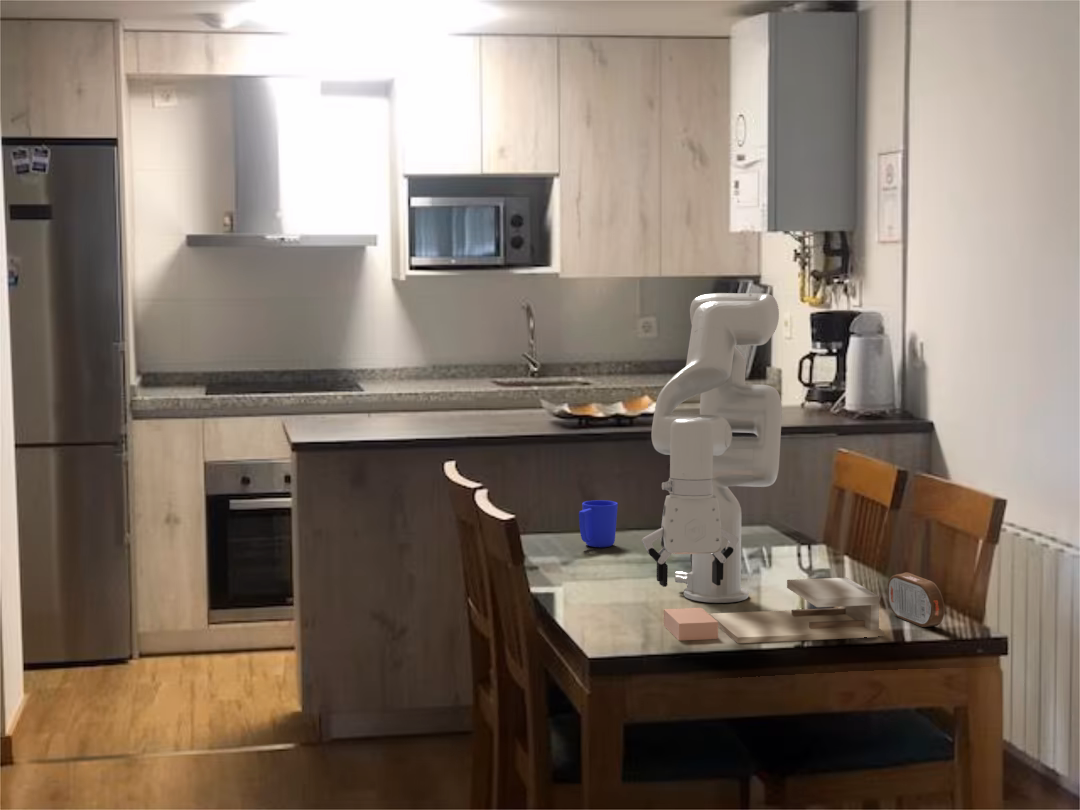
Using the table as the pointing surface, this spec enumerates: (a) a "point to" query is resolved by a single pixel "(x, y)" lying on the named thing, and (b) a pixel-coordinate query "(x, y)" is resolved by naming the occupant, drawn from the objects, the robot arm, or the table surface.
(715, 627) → the peach pink brick
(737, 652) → the table surface
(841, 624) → the shelf
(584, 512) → the mug
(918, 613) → the tin
